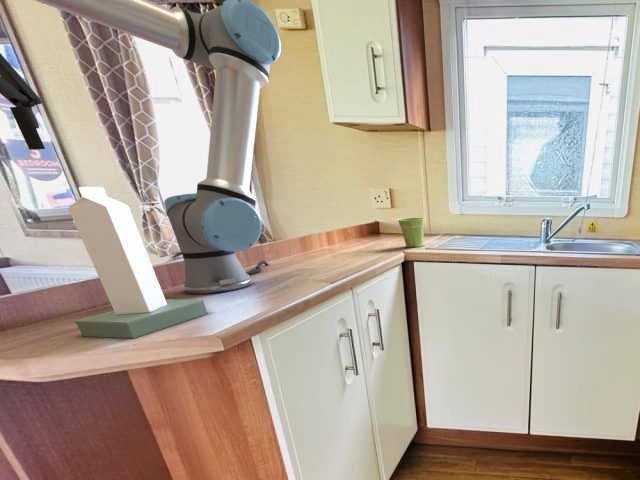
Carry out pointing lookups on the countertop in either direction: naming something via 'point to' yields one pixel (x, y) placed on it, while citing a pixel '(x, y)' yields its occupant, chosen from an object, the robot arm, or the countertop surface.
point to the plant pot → (412, 231)
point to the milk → (117, 252)
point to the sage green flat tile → (141, 320)
